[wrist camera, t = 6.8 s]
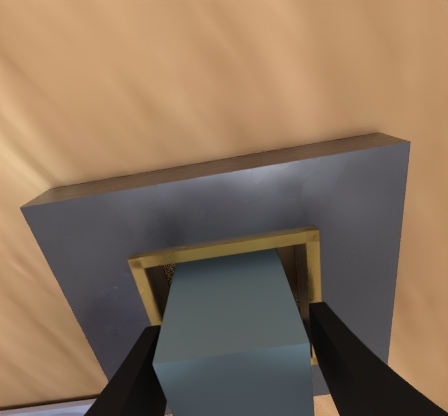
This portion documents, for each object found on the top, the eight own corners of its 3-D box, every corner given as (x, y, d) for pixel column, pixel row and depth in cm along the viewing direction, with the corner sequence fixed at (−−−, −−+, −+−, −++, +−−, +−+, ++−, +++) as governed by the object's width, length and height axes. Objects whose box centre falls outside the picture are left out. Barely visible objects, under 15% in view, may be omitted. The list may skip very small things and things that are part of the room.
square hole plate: (137, 383, 17) (127, 423, 15) (49, 188, 12) (16, 209, 10) (366, 353, 16) (387, 390, 14) (379, 132, 11) (414, 142, 9)
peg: (198, 319, 15) (187, 451, 10) (179, 250, 13) (152, 364, 8) (280, 307, 15) (315, 435, 10) (271, 235, 13) (309, 342, 8)
